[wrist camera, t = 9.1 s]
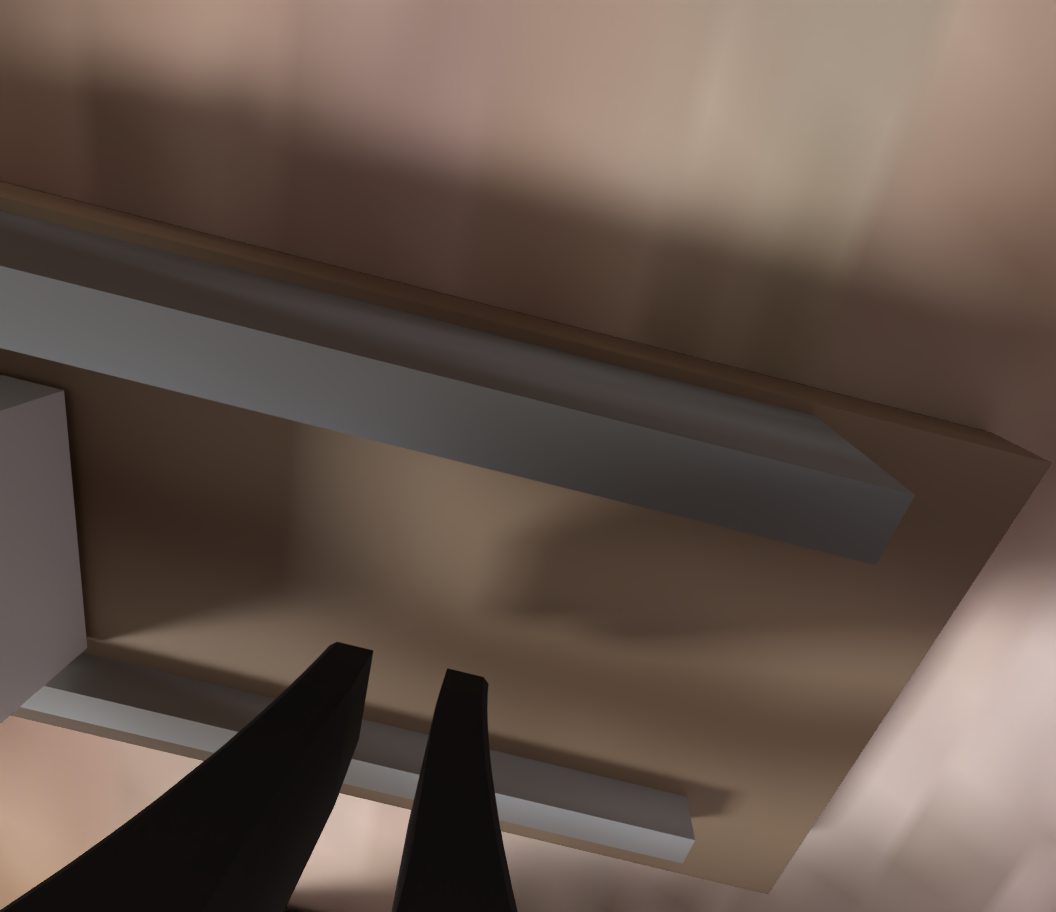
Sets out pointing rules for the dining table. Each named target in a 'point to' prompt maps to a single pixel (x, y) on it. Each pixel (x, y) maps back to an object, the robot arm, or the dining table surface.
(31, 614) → the gauge slider
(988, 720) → the dining table surface
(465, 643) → the gauge base
